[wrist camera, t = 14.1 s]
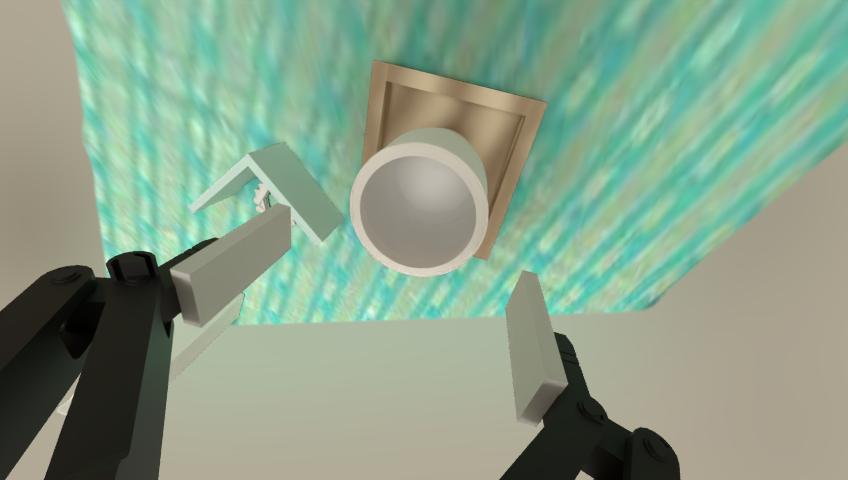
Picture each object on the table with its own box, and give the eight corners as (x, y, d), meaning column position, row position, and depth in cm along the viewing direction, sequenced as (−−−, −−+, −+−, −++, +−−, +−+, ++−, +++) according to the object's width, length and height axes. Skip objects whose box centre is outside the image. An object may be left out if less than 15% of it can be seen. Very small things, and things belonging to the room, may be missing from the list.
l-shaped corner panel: (232, 187, 43) (187, 207, 36) (287, 141, 38) (247, 153, 32) (290, 252, 46) (259, 280, 40) (346, 216, 42) (322, 241, 35)
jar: (478, 213, 37) (478, 286, 24) (396, 204, 38) (352, 269, 25) (492, 120, 32) (501, 148, 19) (396, 113, 33) (342, 135, 20)
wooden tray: (541, 101, 31) (547, 103, 28) (486, 246, 40) (487, 260, 37) (383, 61, 32) (373, 59, 29) (364, 213, 41) (354, 224, 37)
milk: (212, 277, 51) (50, 396, 32) (245, 294, 51) (105, 420, 32) (208, 301, 54) (56, 422, 34) (239, 316, 54) (107, 444, 35)
